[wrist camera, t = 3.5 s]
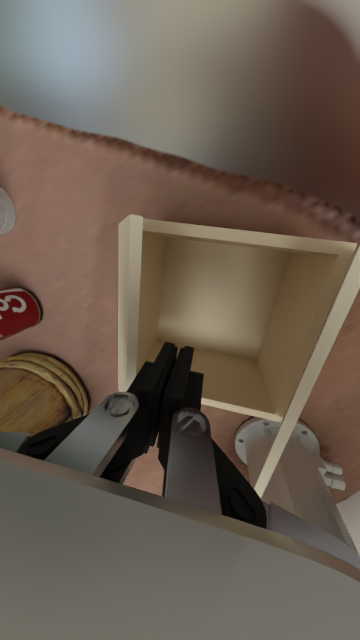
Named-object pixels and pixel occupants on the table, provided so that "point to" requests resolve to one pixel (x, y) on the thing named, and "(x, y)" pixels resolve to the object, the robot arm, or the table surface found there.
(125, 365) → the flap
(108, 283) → the table surface
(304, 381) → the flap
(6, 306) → the soda can
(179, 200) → the table surface
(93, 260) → the table surface
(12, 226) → the cup
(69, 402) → the tankard
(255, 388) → the carton
